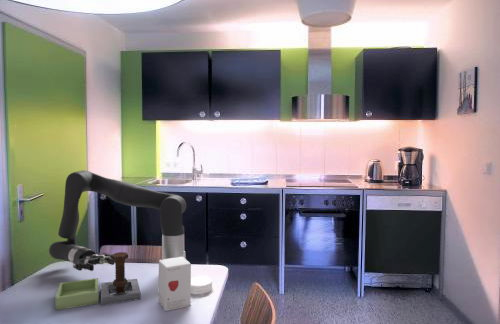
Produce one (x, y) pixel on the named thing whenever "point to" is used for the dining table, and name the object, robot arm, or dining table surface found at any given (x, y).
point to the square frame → (122, 296)
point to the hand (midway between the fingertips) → (103, 265)
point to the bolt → (120, 271)
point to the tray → (77, 293)
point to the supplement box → (174, 283)
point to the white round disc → (200, 285)
